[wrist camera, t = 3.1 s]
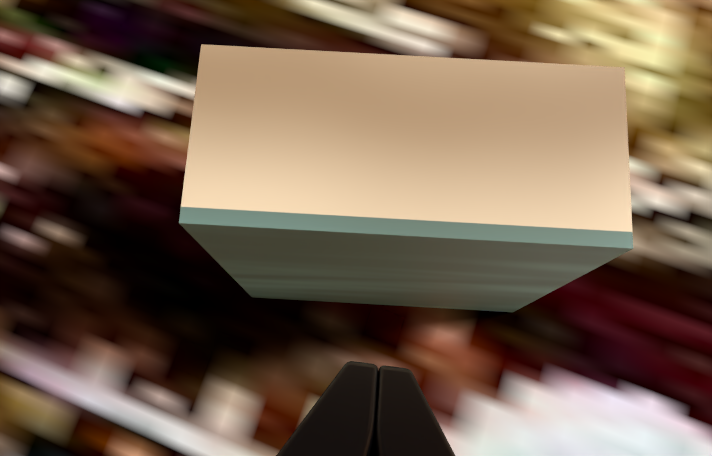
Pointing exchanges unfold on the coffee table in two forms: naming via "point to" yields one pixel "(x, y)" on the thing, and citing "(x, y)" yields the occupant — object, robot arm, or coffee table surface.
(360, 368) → the robot arm
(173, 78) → the coffee table surface
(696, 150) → the coffee table surface
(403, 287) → the tile
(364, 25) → the coffee table surface
